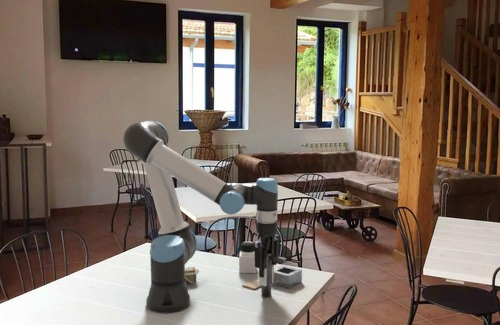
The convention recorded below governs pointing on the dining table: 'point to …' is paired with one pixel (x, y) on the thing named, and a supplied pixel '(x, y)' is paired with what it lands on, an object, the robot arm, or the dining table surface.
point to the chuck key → (269, 258)
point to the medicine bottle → (247, 258)
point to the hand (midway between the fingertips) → (266, 283)
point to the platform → (191, 274)
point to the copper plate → (252, 285)
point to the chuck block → (287, 276)
